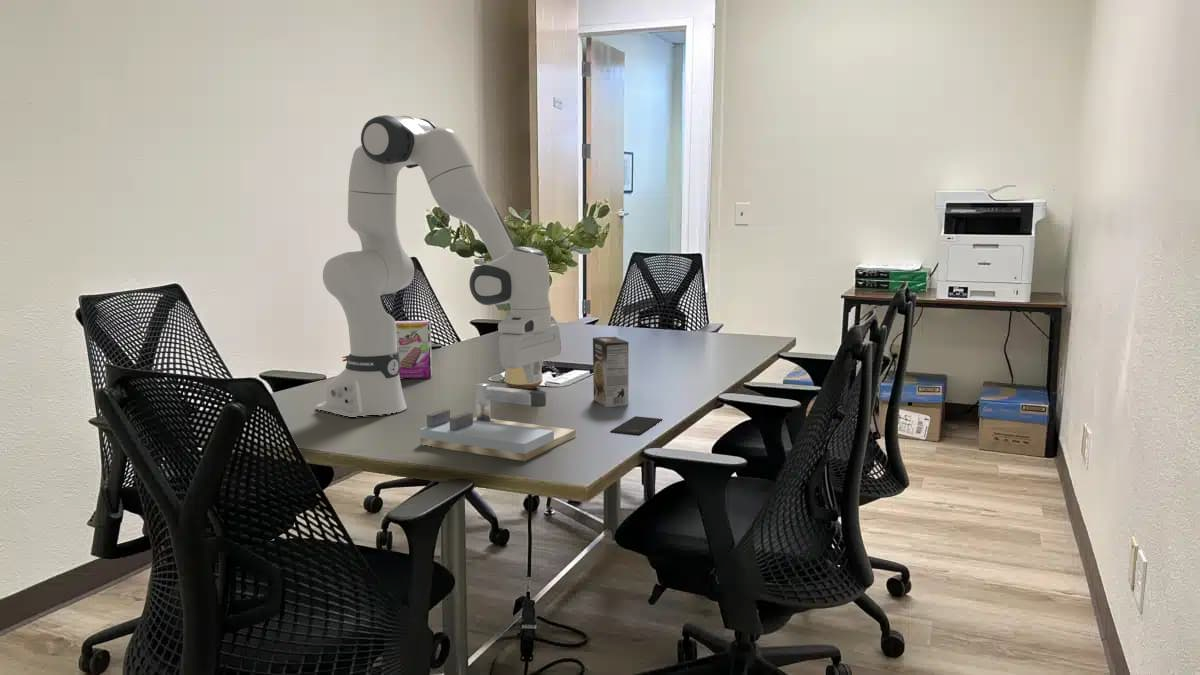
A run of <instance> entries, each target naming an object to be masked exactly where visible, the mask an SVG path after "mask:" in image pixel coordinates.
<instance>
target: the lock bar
mask: <svg viewBox="0 0 1200 675" xmlns="http://www.w3.org/2000/svg"><path fill="white" fill-rule="evenodd" d="M490 385H491V384H490V383H488V382H487V383H483V382H482V383H477V384H475V385H474V387H475V388H474V390H475V391H474V392H475V393H474V394H475V418H476V420H477V421H485V422H489V421H491V419H492V418H491V417H492V416H491V402H499V403H507V404H508V403H509V404H514V405H521V406H522V405H524V406H530V407H532V408H542V407H545V406H547V398H546V397H547V396H546V394H547V392H546V391H545V390H529V389H521V388H520V389H519V388H513V387H512V388H511V387H510V388H509V387H502V386H490Z"/></svg>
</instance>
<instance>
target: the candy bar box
mask: <svg viewBox="0 0 1200 675" xmlns="http://www.w3.org/2000/svg"><path fill="white" fill-rule="evenodd" d="M395 322H396V334H397V351H398V352H399V356H400V367H399V375H400V378H404V379H403V380H406V379H405V378H409V379H408V380H411V379H410V378H414V379H413V380H416V379H415V378H418V379H419V380H421V379H420V378H425V379H431V378H432V376H433V357H432V354H433V353H432V350H433V349H432V325H431V324H432V323H431V320H395ZM418 379H417V380H418Z"/></svg>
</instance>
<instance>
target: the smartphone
mask: <svg viewBox="0 0 1200 675" xmlns="http://www.w3.org/2000/svg"><path fill="white" fill-rule="evenodd" d="M662 420H663V418H657V417H647V416H633V417H631V418H630V419H628V420H626V421H624V422H623V423H621V424H620V425H618V426H617V427H614V428H613V429H610V432H609V433H611V434H619V435H629V436H636V435H637V436H638V437H639V436H641V435H643V434H644V433H646V432H647V431H649V430H651V429H652V428H653V426H654V427H655V426H657V425H658V424H660V423H661V422H663V421H664V420H663V421H662ZM660 421H661V422H660ZM659 422H660V423H659ZM657 423H658V424H657ZM656 424H657V425H656ZM650 428H651V429H650Z"/></svg>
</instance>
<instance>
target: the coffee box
mask: <svg viewBox="0 0 1200 675" xmlns="http://www.w3.org/2000/svg"><path fill="white" fill-rule="evenodd" d="M629 346H630V345H629V341H626V340H624V339H621V338H619V337H617V336H599V337H592V363H593V364H592V367H593V368H592V370H593V371H592V372H593V375H592V376H593V378H592V379H593V400H594V401H595V402H596V403H599V404H600V405H602V406H603V407H605V408H611V407H623V406H629V365H630V364H629V353H630V352H629Z"/></svg>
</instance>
